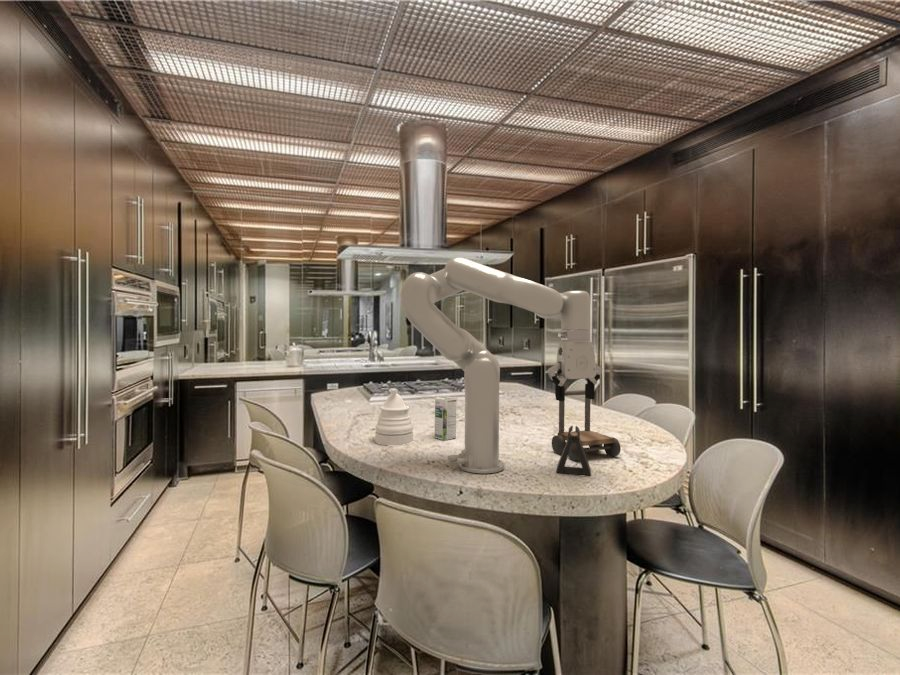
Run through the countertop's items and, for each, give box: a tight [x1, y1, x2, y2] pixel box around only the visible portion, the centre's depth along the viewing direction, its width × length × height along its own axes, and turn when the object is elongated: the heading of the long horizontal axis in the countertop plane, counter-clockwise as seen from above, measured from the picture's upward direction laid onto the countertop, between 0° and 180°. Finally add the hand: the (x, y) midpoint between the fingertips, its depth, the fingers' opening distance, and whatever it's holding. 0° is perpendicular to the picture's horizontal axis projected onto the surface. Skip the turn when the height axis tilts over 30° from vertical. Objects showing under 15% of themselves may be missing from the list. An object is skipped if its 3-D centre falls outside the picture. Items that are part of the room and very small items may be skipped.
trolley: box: [551, 389, 621, 462], centre depth 142 cm, size 15×14×19 cm
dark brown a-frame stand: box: [555, 425, 592, 477], centre depth 125 cm, size 9×6×12 cm, turn 74°
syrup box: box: [433, 396, 458, 441], centre depth 163 cm, size 6×6×14 cm
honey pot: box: [374, 388, 414, 446], centre depth 158 cm, size 13×13×18 cm
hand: (575, 399), depth 125 cm, fingers open, 9 cm apart
